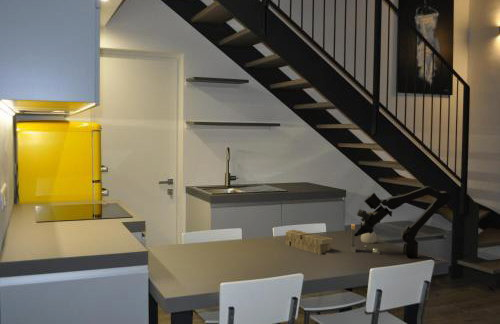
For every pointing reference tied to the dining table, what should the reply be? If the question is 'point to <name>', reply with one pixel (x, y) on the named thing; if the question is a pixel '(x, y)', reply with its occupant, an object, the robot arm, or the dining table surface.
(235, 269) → the dining table surface
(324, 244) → the block tower
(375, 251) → the switch panel
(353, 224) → the orange plate
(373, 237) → the potion bottle
